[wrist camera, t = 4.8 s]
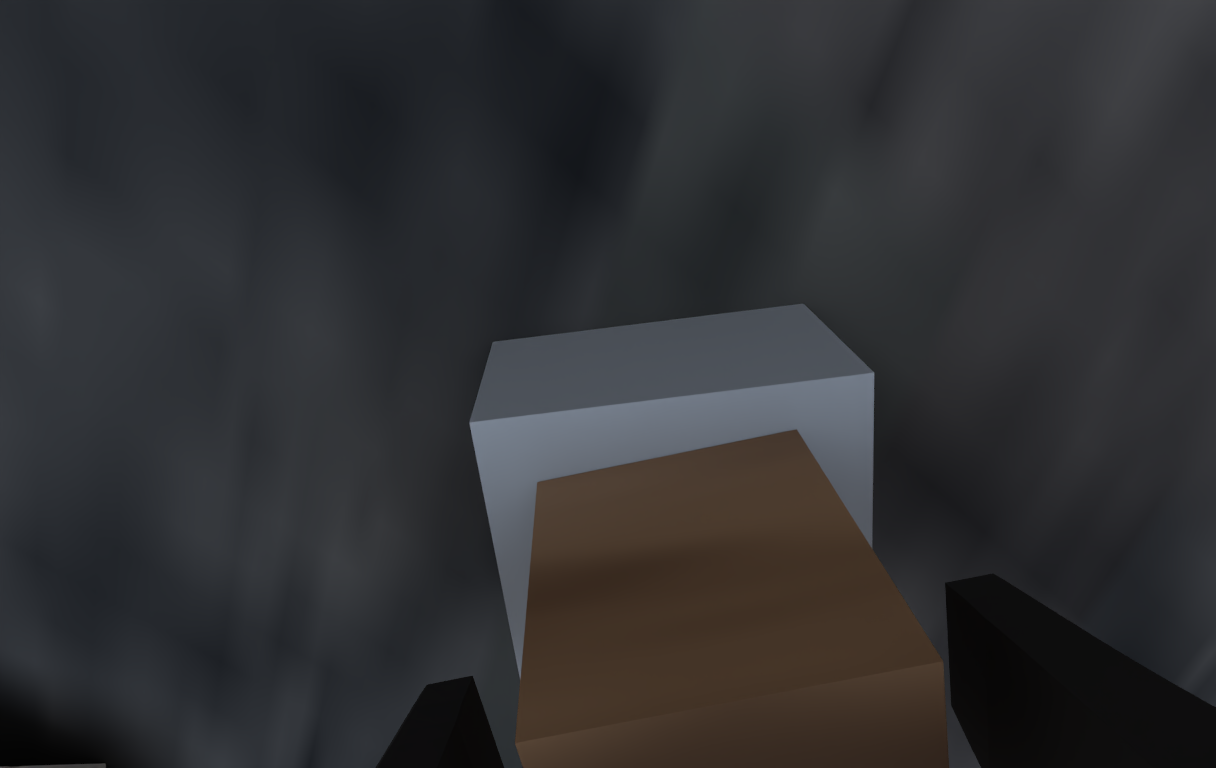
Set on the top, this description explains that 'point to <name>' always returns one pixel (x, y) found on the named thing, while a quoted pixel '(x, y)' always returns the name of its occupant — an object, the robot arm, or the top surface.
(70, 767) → the die
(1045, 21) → the top surface
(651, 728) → the walnut block
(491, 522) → the base block
